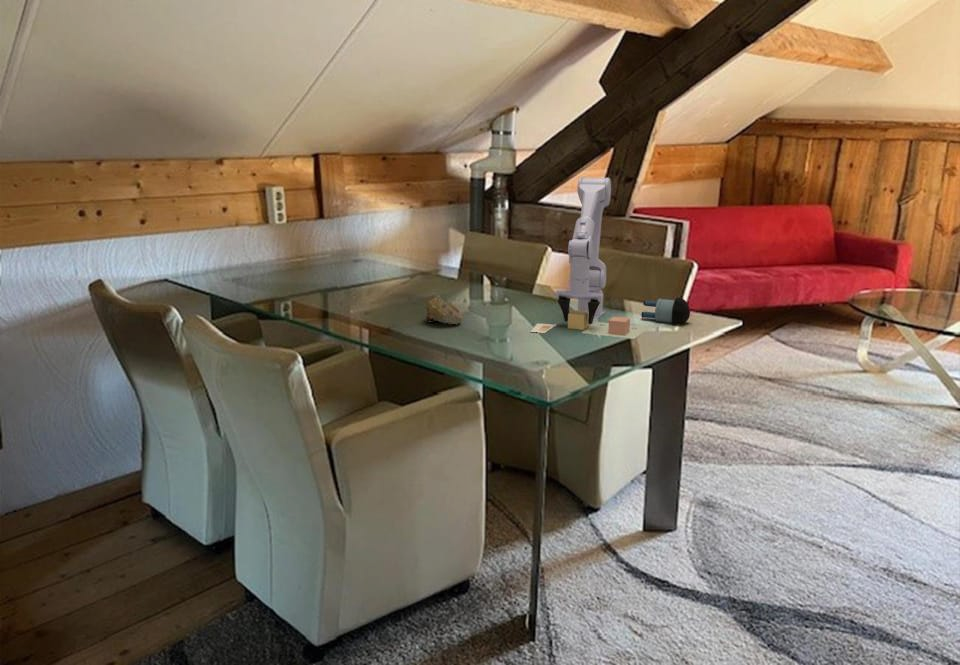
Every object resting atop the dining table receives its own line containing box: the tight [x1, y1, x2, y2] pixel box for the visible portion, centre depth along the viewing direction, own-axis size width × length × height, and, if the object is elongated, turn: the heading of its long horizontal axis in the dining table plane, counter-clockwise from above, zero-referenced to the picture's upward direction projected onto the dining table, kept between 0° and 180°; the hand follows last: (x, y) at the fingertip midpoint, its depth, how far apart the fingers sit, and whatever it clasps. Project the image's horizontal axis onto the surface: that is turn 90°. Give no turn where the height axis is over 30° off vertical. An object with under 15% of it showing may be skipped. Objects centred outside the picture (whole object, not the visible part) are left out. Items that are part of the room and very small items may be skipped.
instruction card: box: [529, 323, 557, 334], centre depth 225 cm, size 10×7×1 cm
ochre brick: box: [567, 309, 590, 331], centre depth 224 cm, size 5×5×5 cm
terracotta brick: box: [608, 316, 631, 335], centre depth 218 cm, size 5×5×4 cm
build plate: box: [581, 321, 648, 340], centre depth 221 cm, size 14×16×1 cm
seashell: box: [425, 293, 464, 325], centre depth 232 cm, size 11×14×10 cm
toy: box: [640, 297, 691, 326], centre depth 229 cm, size 8×9×15 cm
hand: (578, 322), depth 225 cm, fingers open, 7 cm apart
